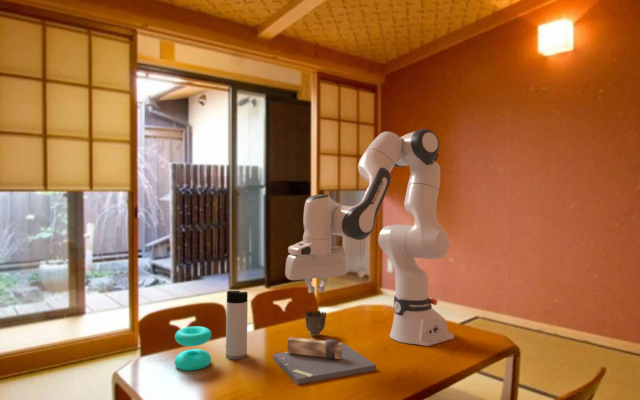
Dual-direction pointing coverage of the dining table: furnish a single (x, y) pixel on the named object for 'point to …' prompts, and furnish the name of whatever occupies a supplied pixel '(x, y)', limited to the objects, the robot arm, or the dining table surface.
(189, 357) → the donuts
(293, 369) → the dial board
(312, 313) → the cup
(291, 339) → the long tan beam
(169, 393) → the dining table surface
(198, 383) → the dining table surface
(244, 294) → the travel mug
